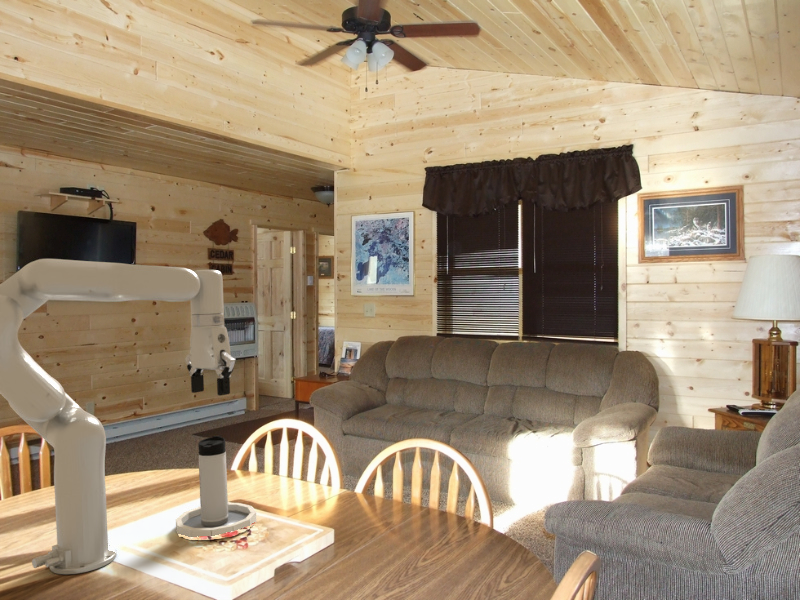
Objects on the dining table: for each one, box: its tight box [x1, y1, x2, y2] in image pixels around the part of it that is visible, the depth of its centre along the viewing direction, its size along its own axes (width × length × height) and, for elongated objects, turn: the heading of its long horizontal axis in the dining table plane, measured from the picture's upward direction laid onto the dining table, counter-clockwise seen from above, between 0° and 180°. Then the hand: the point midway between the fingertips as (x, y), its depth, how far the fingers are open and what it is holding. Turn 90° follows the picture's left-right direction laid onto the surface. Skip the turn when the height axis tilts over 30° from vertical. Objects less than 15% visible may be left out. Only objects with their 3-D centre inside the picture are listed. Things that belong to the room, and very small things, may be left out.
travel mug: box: [198, 435, 229, 527], centre depth 151 cm, size 6×7×20 cm
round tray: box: [175, 502, 257, 537], centre depth 151 cm, size 18×18×2 cm
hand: (210, 393), depth 151 cm, fingers open, 9 cm apart
